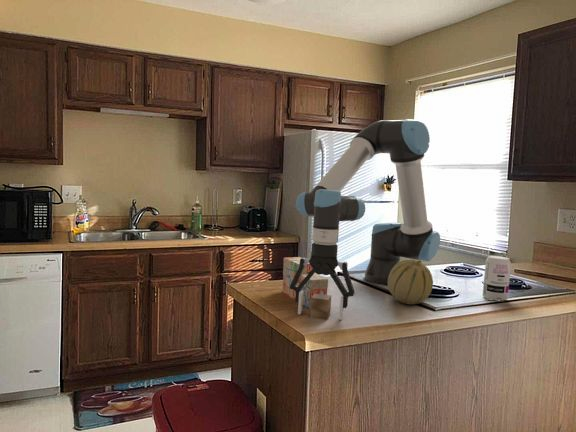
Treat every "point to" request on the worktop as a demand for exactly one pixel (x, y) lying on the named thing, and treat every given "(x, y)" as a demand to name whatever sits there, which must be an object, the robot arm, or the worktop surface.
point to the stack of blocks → (313, 286)
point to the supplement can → (496, 278)
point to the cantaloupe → (410, 282)
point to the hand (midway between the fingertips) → (320, 315)
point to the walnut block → (320, 306)
